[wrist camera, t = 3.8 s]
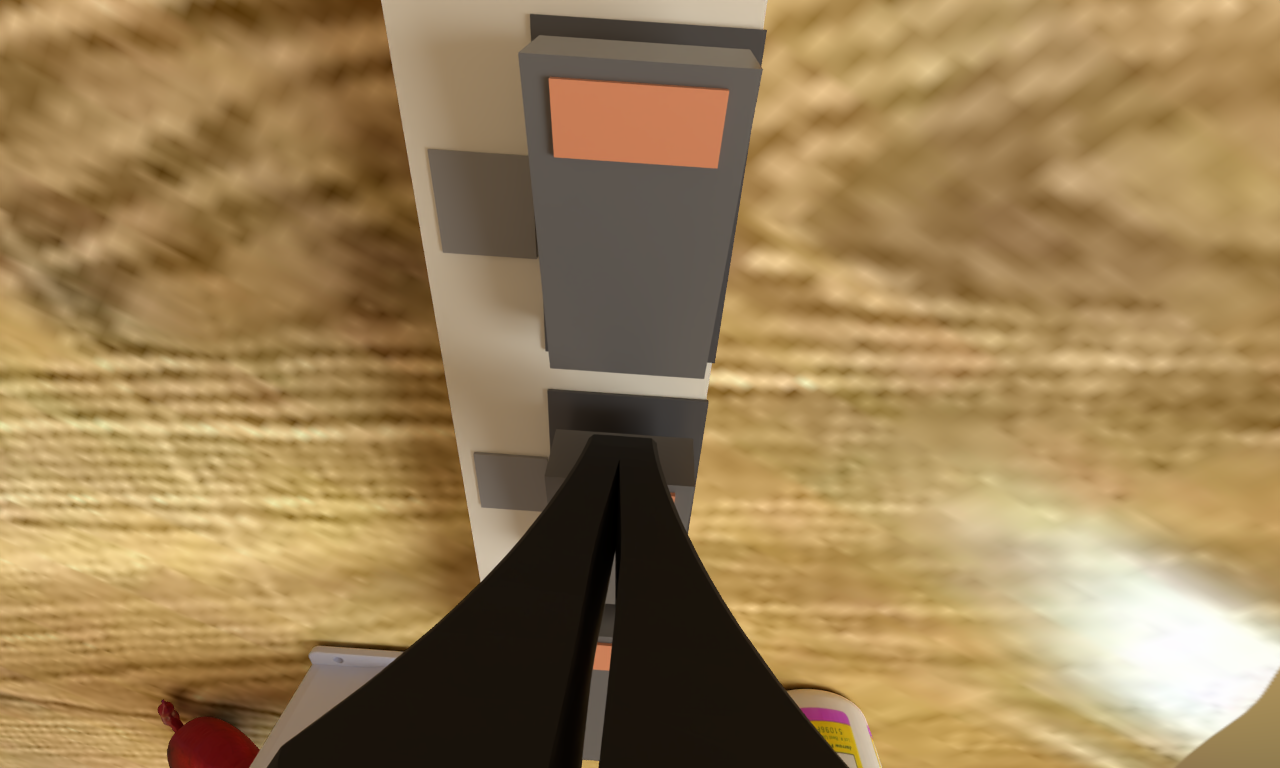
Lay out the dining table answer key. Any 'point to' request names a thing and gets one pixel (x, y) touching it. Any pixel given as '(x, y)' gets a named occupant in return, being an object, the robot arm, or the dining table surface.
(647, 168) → the rocker
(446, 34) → the rocker switch panel
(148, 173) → the dining table surface
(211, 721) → the decorative bird figurine
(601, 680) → the block
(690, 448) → the rocker
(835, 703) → the supplement bottle
